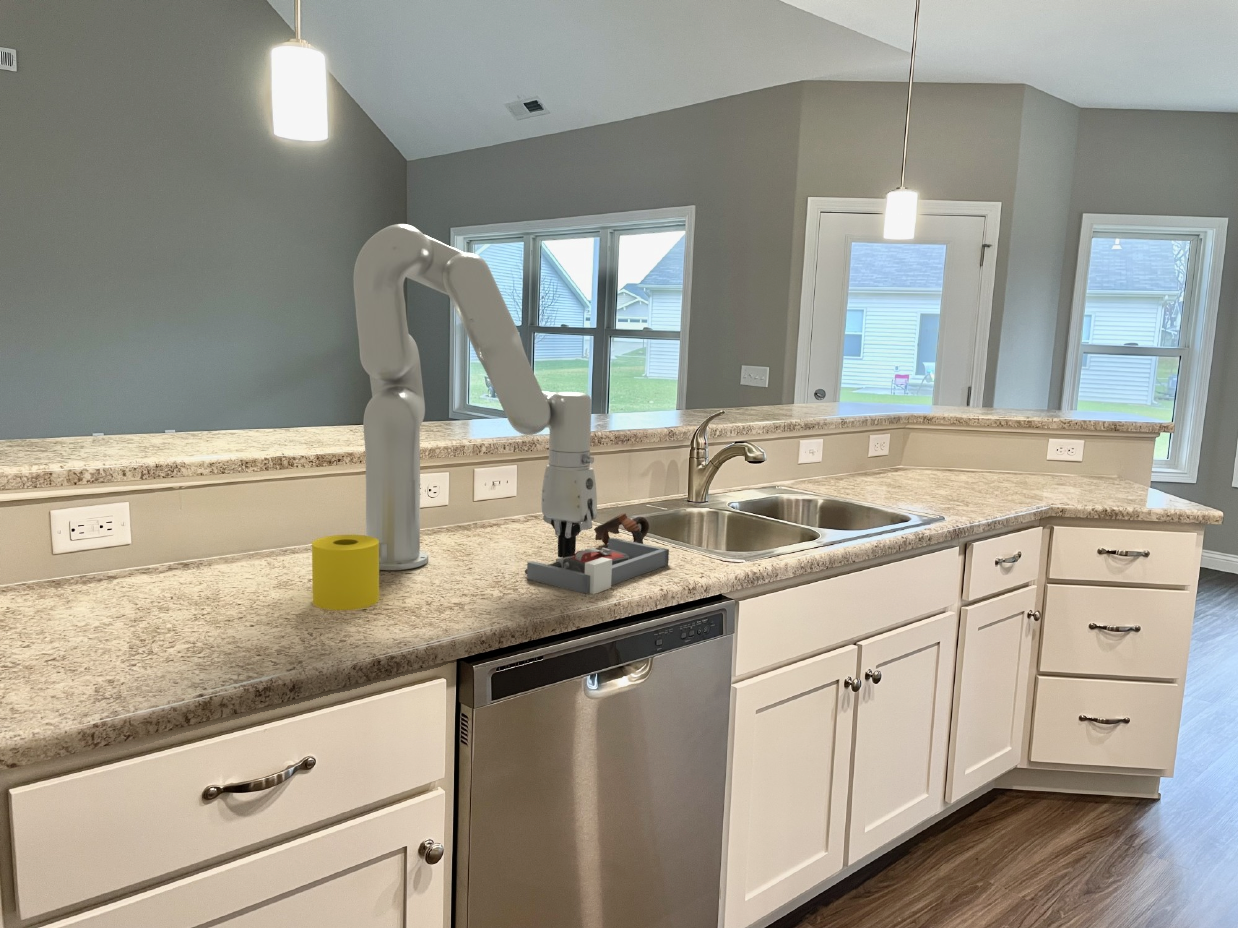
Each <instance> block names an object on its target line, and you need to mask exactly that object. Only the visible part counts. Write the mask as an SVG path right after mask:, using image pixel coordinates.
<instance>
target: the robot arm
mask: <svg viewBox="0 0 1238 928" xmlns="http://www.w3.org/2000/svg"><path fill="white" fill-rule="evenodd" d="M406 278H407V279H410V280H411V281H415V282H417V283H419V284H422V285H423V286H426V287H428V288H431V289H433V290H434V291H438V292H439V293H442V294H445V295H447V296H448V297H449V299H450V301H451V303H452V306H453V307H454V310H455V312H456V313H457V315H458V318H459V319H460V322H461V324H462V326H463V328H464V331H465V332H466V335H467V337H468V339H469V341H470V343H471V346H472V348H473V350H474V353H475V356H476V357H477V359H478V361H479V363H480V364H481V365H482V367H483V369H484V371H485V373H486V375H487V377H488V379H489V382H490V385H491V386H492V388H493V390H494V392H495V395H496V397H497V399H498V401H499V403H500V406H501V407H502V410H503V412H504V414H505V416H506V418H507V421H508V423H509V424H510V426H511V428H512V429H514V430H515V431H516V432H518V433H519V434H521V435H524V436H525V435H526V436H532V435H537V434H539V433H540V432H543V430H545V429H547V428H548V429H549V440H548V441H549V443H548V446H549V447H548V464H547V465H546V467H545V471H544V475H543V482H542V489H541V500H540V501H541V513H542V515H543V518H542V520H543V522H545V523H546V524H549V525H551V527H552V528H553V530H554V534H555V536H556V537H557V558H564V557H569V556H574V555H575V553H576V548H577V547H576V546H577V544H576V543H577V536H580V535H579V534H580V533H581V532H582V531H587V530H591V529H592V528H593V522H592V521H593V520H595V519H596V518H597V513H598V500H597V499H598V496H597V492H598V491H597V482H596V477H595V471H594V467H590V464H591V465H592V464H594V463H595V462H594V461H595V458H594V456H592V455H591V433H592V432H591V431H592V430H591V429H592V398H591V396H590V395H589V394H587V393H584V392H580V391H579V392H578V391H558V392H551V391H545V390H543V389H542V388H541V386H540V384H539V381H538V379H537V377H536V375H535V373H534V370H533V368H532V367H531V364H530V361H529V359H528V357H527V354H526V351H525V349H524V346H523V341H522V337H521V335H520V333H519V330H518V328H517V325H516V322H515V321H514V319H513V317H512V315H511V313H510V311H509V308H508V307H507V304H506V302H505V299H504V297H503V295H502V293H501V291H500V288H499V286H498V285H497V282H496V280H495V278H494V276H493V274H492V271H491V269H490V267H489V265H488V263H487V262H486V261H485V259H484V258H482V257H481V256H480V255H478V254H476V253H472V252H465V251H461V250H459V249H457V248H455V247H452V246H449V245H447V244H445V243H443V242H442V241H439V240H437V239H435V238H432V237H430V236H428V235H426V234H425V233H424V234H423V232H422V231H420V230H419V229H418V228H416V227H415V226H413V225H410V224H406V223H398V224H397V223H396V224H392V225H388V226H386V227H385V228H383V229H380V230H379V231H378V232H375V234H373V235H372V236H371V237H370V238H368V240H366V242H365V243H364V245H363V246H362V248H361V249H360V251H359V253H358V255H357V257H356V261H355V264H354V269H353V293H354V294H353V295H354V305H355V317H356V327H357V328H356V329H357V335H358V344H359V345H358V346H359V360H360V363H361V366H362V367H363V370H364V371H365V372H366V373H367V375H369V382H370V389H371V396H372V397H371V399H370V400H369V401H368V403H367V404H366V407H365V410H364V413H363V414H364V415H363V438H364V452H365V454H364V456H365V527H366V528H365V536H370V537H374V538H376V539H378V540H379V571H403V570H411V569H416V568H419V567H420V568H421V567H422V566H424V565H426V564H427V563H428V562H429V554H428V552H426V551H423V550H421V546H420V545H421V450H420V449H421V447H420V446H421V443H420V441H421V440H420V438H421V437H420V431H421V430H420V428H421V426H422V424H423V421H424V419H425V414H426V403H425V402H426V401H425V396H424V387H423V386H424V385H423V378H422V369H421V359H420V352H419V349H418V345H417V343H416V341H415V339H414V338H413V336H412V335H411V334H409V328H408V320H407V310H406V309H407V307H406V306H407V305H406V301H405V300H406V299H405V293H404V282H405V279H406Z"/></svg>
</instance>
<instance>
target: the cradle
mask: <svg viewBox="0 0 1238 928" xmlns="http://www.w3.org/2000/svg"><path fill="white" fill-rule="evenodd" d="M607 545H608V546H607V549H612V550H615V551H619V552H622V553H625V554H628V556H629V560H627V561H624V562H621V563H618V564H615V565H612V559H608V558H604V557H602V558H599V559H596V560H592V561H589V562H586V563H585V573H581V572H576V571H572V570H568V569H564V568H559V567H555V566H551V565H548V564H546V563H543V562H539V561H533V560H530V561H528V562H527V565H526V569H527V574H526V579H527V580H529V581H530V580H531V581H533V582H539V583H542V584H545V585H550V586H553V585H554V586H553V587H557V588H561V589H566V590H570V591H573V590H574V592H578V593H581V594H586V595H589V594H592V595H595V594H597V593H600V592H603V591H607V590H609V589H611V588H612V586H613V585H614V586H615V585H616V584H619V583H622V582H624V581H628V580H630V579H634V578H635V577H637V576H641V575H644V574H648V573H649V572H652V571H655V570H657V569H660V568H663V567H666V566H669V561H670V560H669V559H670V556H669V555H670V549H669V548H665V547H659V546H654V545H651V544H644V543H643V544H641V543H636V542H633V541H631V540H630V541H629V540H625V539H620V538H615V537H610V538H609V541H608V544H607Z"/></svg>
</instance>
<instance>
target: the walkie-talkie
mask: <svg viewBox="0 0 1238 928" xmlns="http://www.w3.org/2000/svg"><path fill="white" fill-rule="evenodd" d="M602 557H604V558H608V559H612V565H615V564H618V563H621V562H624V561H627V560H630V558H629V556H628V554H625V553H622V552H619V551H615V550H612V549H608V548H605V547H602V548H601V550H599V549H596V548H593V547H591V548H587V549H584V550H578V551H575V555H574V556H569V557H564V558H560V557H557V558H556V559H555V562H552V563H549V564H547V565H551V566H555V567H559V568H564V569H568V570H572V571H576V572H581V573H585V563H586V562H589V561H592V560H596V559H599V558H602ZM524 573H525V574H526V575H527V568H526V569H525V570H524Z"/></svg>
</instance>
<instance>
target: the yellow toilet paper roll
mask: <svg viewBox="0 0 1238 928" xmlns="http://www.w3.org/2000/svg"><path fill="white" fill-rule="evenodd" d="M311 561H312V562H311V568H312V569H311V572H312V573H311V574H312V579H311V580H312V582H311V583H312V604H313V606H315V607H317V608H319V609H323V610H327V611H328V610H329V611H352V610H353V611H354V610H360V609H366V608H368V607H370V606H373V605H375V604H377V603H378V602H379V601H380V600H379V599H380V570H379V540H378V539H376V538H374V537H370V536H366V535H362V534H336V535H329V536H328V535H327V536H323V537H320V538H317V539H315V540H313V541H312V542H311Z"/></svg>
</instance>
